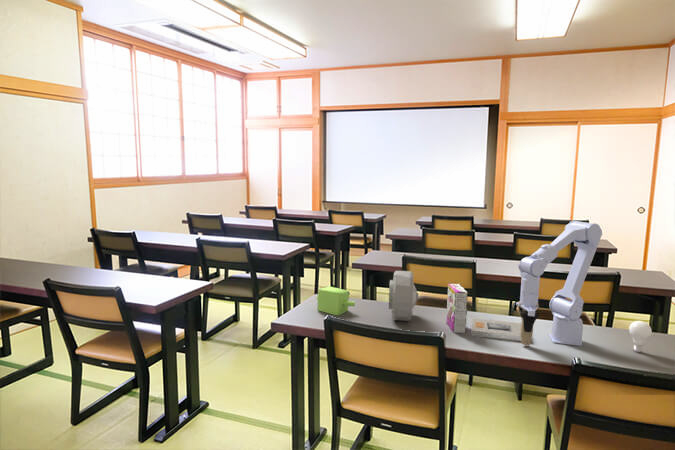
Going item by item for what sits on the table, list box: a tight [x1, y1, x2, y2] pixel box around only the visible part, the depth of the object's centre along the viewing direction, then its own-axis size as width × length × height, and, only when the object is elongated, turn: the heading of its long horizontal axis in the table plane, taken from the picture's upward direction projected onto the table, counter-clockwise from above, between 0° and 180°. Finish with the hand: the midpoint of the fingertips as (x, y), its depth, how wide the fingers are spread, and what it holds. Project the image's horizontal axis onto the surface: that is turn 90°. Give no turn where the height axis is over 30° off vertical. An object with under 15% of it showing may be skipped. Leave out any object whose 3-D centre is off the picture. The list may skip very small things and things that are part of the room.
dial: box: [388, 270, 419, 322], centre depth 177 cm, size 20×12×20 cm, turn 171°
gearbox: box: [316, 286, 356, 316], centre depth 186 cm, size 18×10×10 cm, turn 57°
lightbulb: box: [628, 320, 653, 353], centre depth 149 cm, size 6×6×11 cm
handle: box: [518, 300, 540, 346], centre depth 152 cm, size 5×6×15 cm
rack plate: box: [470, 317, 521, 342], centre depth 165 cm, size 20×14×2 cm
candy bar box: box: [445, 283, 469, 334], centre depth 168 cm, size 11×5×16 cm, turn 0°
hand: (526, 329), depth 152 cm, fingers closed on handle, 4 cm apart
